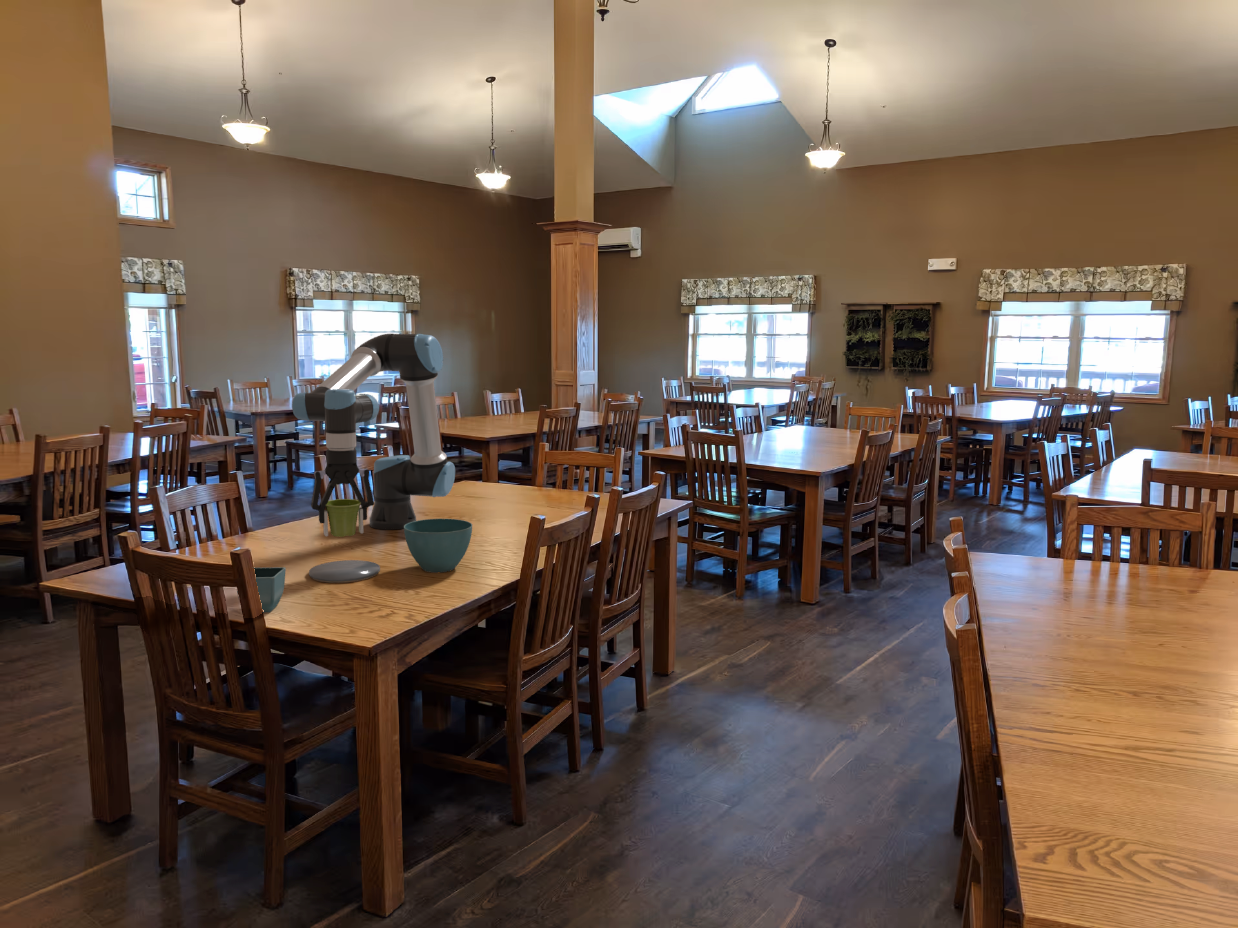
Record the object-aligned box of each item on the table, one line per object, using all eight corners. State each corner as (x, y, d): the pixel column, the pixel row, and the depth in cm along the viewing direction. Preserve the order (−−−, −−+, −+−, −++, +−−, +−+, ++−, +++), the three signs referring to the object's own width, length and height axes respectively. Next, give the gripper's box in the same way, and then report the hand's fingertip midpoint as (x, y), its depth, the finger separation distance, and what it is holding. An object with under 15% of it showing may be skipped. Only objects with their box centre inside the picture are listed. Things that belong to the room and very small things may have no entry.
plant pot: (367, 531, 225) (367, 499, 224) (353, 539, 216) (352, 506, 214) (334, 529, 226) (333, 498, 224) (318, 537, 216) (317, 505, 215)
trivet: (372, 561, 234) (372, 557, 234) (386, 578, 218) (386, 574, 218) (305, 568, 226) (304, 564, 226) (313, 586, 210) (313, 581, 210)
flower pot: (249, 603, 196) (247, 566, 195) (287, 603, 197) (286, 566, 195) (235, 616, 187) (233, 577, 186) (276, 615, 188) (274, 577, 187)
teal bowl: (394, 566, 230) (393, 522, 229) (454, 556, 241) (453, 515, 240) (421, 581, 216) (421, 535, 214) (484, 571, 227) (484, 527, 225)
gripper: (379, 445, 225) (381, 527, 229) (296, 448, 216) (299, 533, 219) (385, 448, 219) (387, 533, 222) (300, 452, 209) (303, 540, 212)
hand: (343, 533), depth 221 cm, fingers closed on plant pot, 8 cm apart
